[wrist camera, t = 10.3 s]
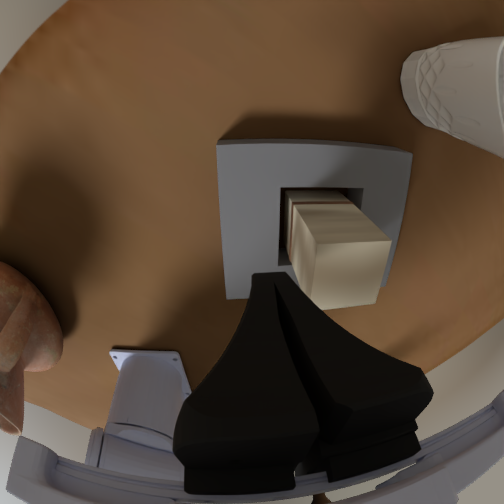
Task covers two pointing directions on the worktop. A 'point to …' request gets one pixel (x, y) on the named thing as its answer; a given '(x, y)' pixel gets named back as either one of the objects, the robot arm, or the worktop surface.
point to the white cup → (459, 90)
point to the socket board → (299, 175)
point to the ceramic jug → (23, 342)
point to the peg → (333, 248)
